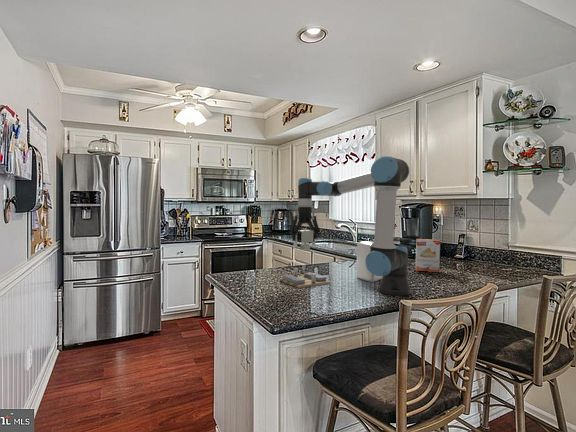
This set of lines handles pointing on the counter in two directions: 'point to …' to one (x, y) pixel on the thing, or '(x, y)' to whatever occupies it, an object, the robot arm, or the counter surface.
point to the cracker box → (427, 255)
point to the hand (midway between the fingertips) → (304, 246)
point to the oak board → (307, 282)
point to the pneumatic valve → (305, 238)
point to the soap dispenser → (362, 270)
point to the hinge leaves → (312, 276)
